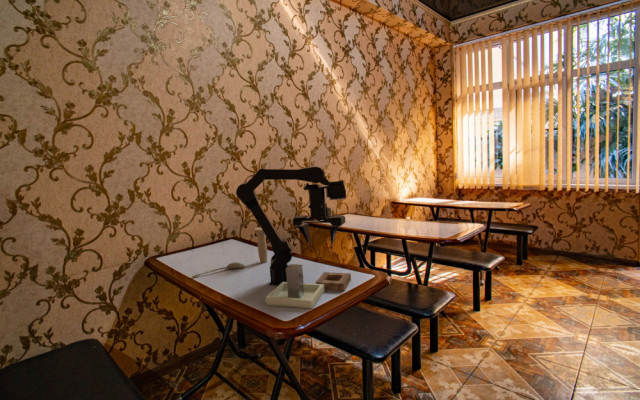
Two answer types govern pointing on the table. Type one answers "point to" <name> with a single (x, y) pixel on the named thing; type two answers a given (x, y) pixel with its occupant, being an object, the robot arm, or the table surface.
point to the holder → (334, 281)
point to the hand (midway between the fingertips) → (320, 243)
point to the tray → (307, 301)
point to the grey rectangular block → (295, 281)
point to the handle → (261, 245)
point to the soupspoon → (232, 265)
